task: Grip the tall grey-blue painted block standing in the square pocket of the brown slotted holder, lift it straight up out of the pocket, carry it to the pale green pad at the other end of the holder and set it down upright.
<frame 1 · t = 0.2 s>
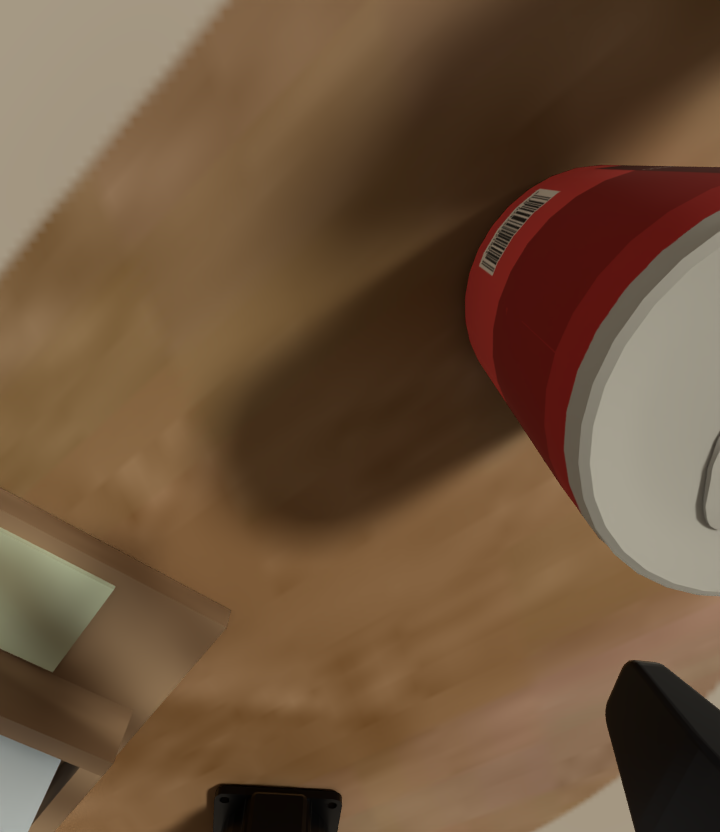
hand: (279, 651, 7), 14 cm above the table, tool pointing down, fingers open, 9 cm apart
block: (20, 724, 26), point 1 cm above the table, touching brown slotted holder
canned food: (567, 288, 20), on the table
brown slotted holder: (41, 653, 26), on the table
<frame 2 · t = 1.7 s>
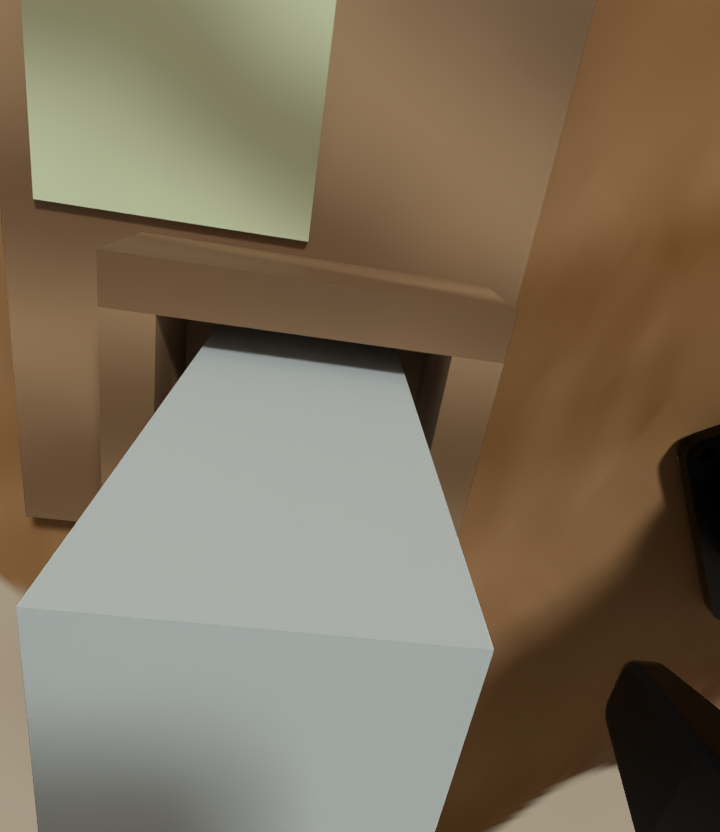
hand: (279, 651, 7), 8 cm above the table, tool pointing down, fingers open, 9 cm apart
block: (298, 415, 14), point 1 cm above the table, touching brown slotted holder
brown slotted holder: (274, 263, 13), on the table
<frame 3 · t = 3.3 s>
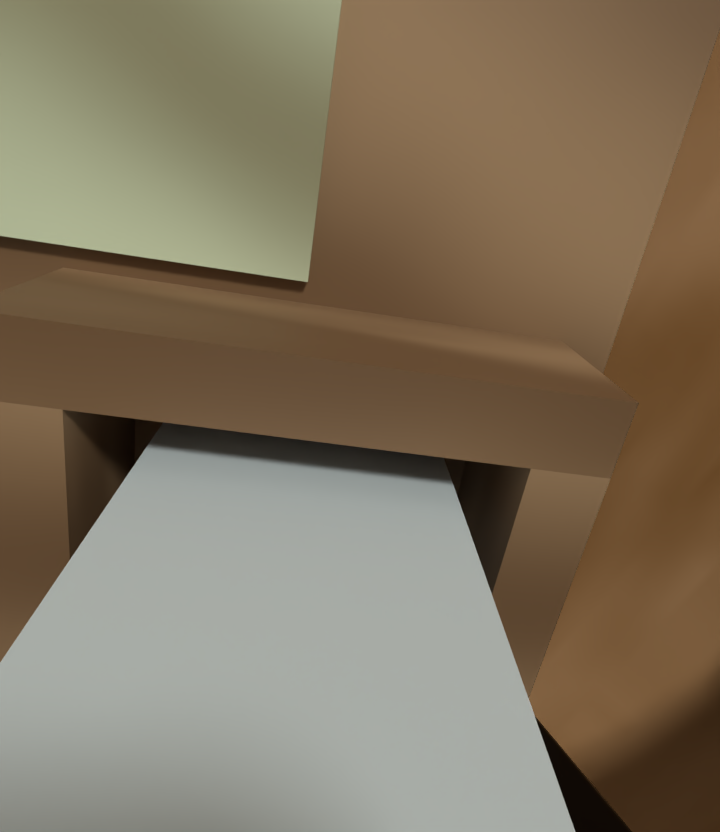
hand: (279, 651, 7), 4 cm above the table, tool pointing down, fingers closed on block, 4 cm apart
block: (296, 516, 10), point 1 cm above the table, touching brown slotted holder, gripper
brown slotted holder: (260, 307, 10), on the table
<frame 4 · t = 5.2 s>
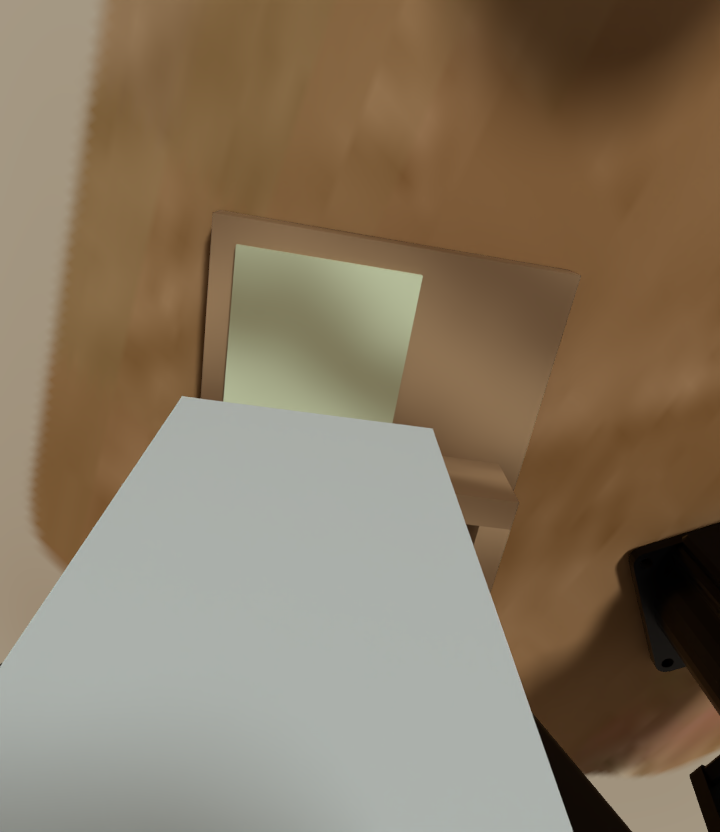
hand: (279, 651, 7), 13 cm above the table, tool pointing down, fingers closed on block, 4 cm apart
block: (295, 518, 10), point 10 cm above the table, touching gripper
brown slotted holder: (361, 442, 21), on the table
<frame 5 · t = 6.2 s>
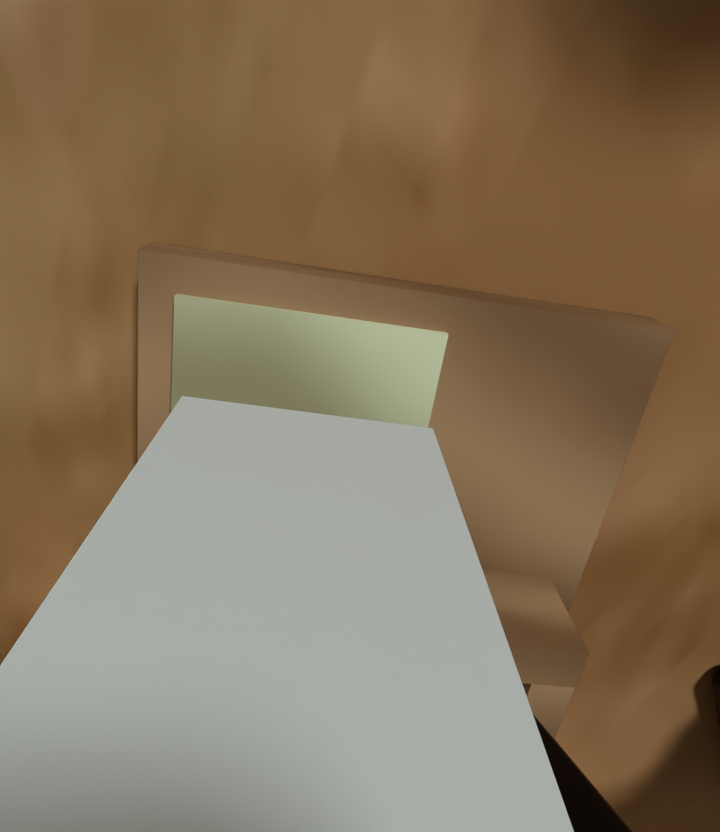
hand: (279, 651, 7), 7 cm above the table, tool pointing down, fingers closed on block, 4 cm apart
block: (296, 518, 10), point 4 cm above the table, touching gripper
brown slotted holder: (362, 546, 15), on the table
when the fingers open (6 cm above the table, at t = 7.2 s): block drops 1 cm, resting on brown slotted holder.
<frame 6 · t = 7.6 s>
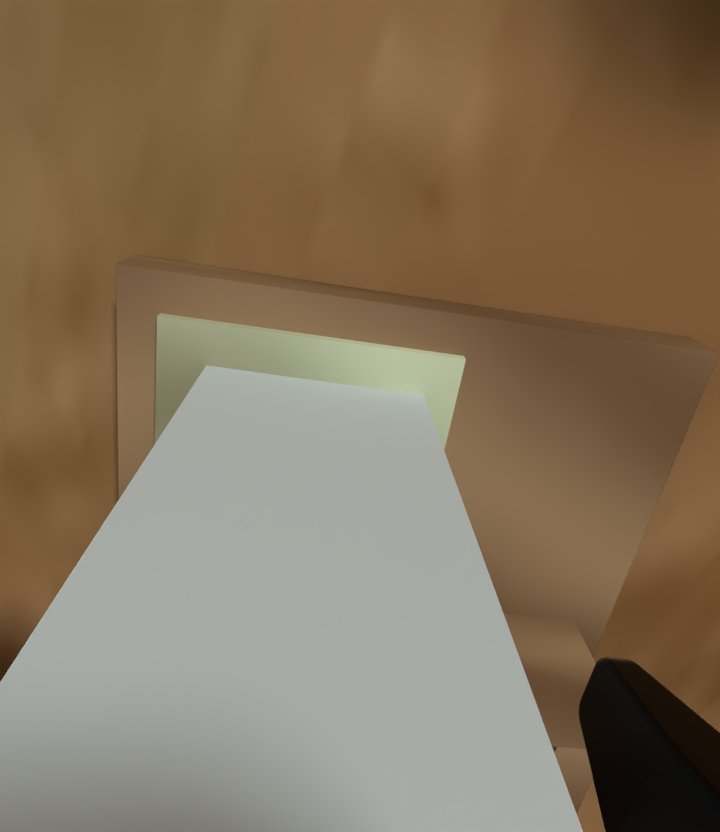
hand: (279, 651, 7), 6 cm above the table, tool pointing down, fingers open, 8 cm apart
block: (303, 475, 11), point 1 cm above the table, touching brown slotted holder
brown slotted holder: (367, 584, 14), on the table
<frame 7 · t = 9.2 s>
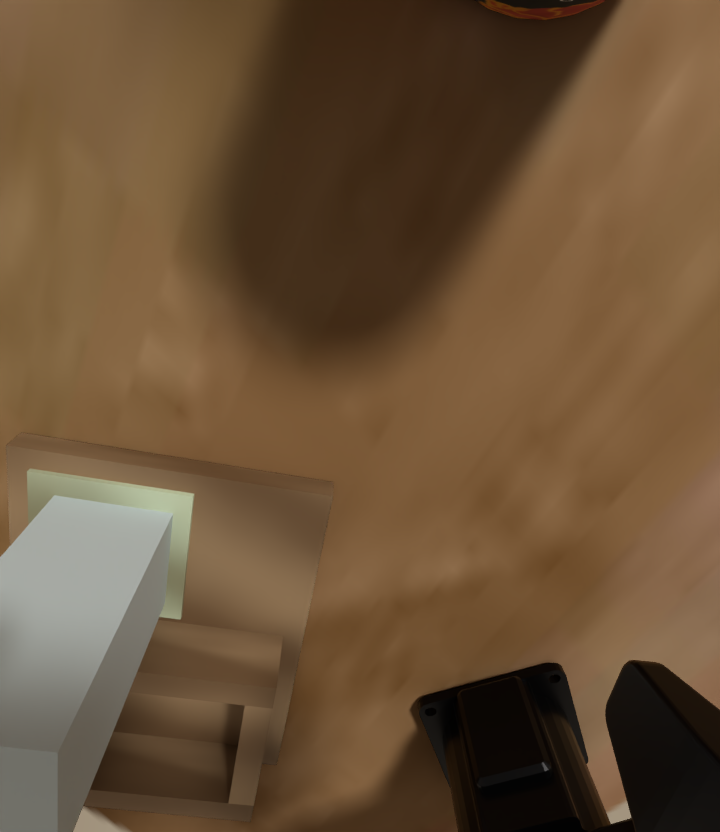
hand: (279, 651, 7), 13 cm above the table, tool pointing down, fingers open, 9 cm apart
block: (112, 551, 21), point 1 cm above the table, touching brown slotted holder
brown slotted holder: (167, 610, 23), on the table
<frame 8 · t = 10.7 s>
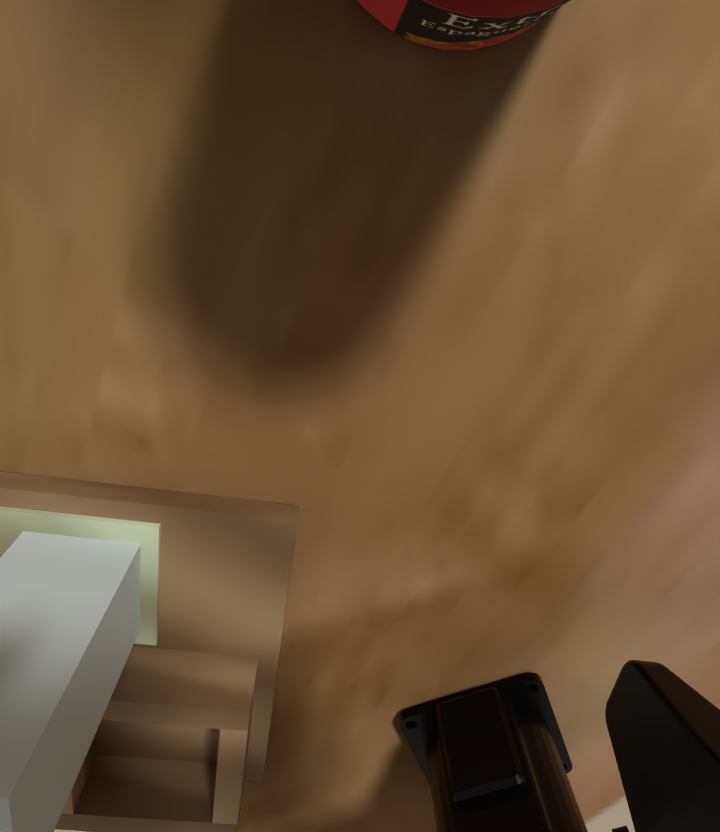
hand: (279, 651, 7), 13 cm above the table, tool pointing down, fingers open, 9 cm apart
block: (84, 582, 21), point 1 cm above the table, touching brown slotted holder
brown slotted holder: (145, 635, 24), on the table
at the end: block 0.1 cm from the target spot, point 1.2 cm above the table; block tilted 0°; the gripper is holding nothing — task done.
